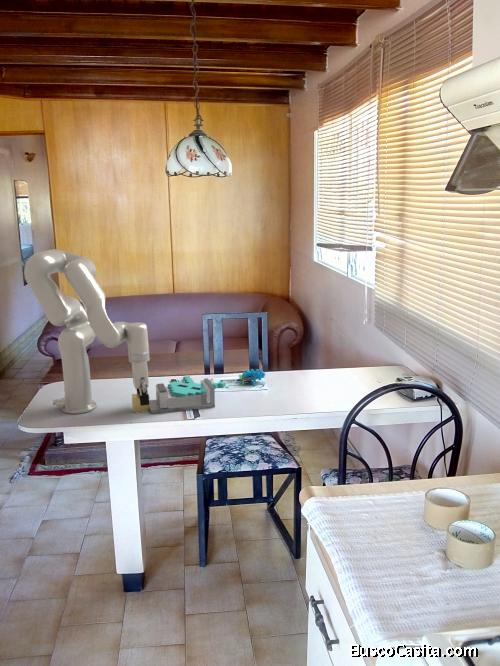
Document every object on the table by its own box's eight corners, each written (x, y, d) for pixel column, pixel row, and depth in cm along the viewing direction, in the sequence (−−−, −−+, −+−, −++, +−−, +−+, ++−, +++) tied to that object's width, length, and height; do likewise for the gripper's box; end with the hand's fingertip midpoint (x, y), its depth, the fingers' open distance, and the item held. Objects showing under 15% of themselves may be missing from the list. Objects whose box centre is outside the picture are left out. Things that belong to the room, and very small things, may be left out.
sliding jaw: (160, 408, 206) (159, 391, 204) (156, 399, 215) (155, 383, 213) (168, 407, 206) (167, 390, 205) (164, 398, 216) (163, 382, 214)
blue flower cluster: (266, 377, 241) (263, 366, 233) (267, 389, 238) (263, 379, 230) (241, 379, 243) (237, 369, 234) (241, 392, 240) (237, 381, 231)
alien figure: (186, 380, 244) (158, 394, 227) (186, 375, 243) (158, 389, 226) (225, 387, 235) (199, 402, 218) (225, 382, 234) (199, 397, 217)
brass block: (133, 413, 206) (132, 397, 205) (132, 409, 210) (131, 394, 208) (149, 411, 208) (149, 396, 206) (148, 407, 211) (147, 392, 210)
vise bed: (151, 414, 204) (150, 393, 203) (147, 404, 215) (146, 384, 213) (214, 407, 211) (214, 387, 210) (208, 397, 222) (207, 378, 220)
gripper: (126, 351, 211) (130, 394, 215) (131, 364, 195) (135, 410, 199) (146, 349, 213) (150, 392, 217) (152, 361, 197) (156, 406, 201)
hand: (143, 400), depth 208 cm, fingers open, 9 cm apart
